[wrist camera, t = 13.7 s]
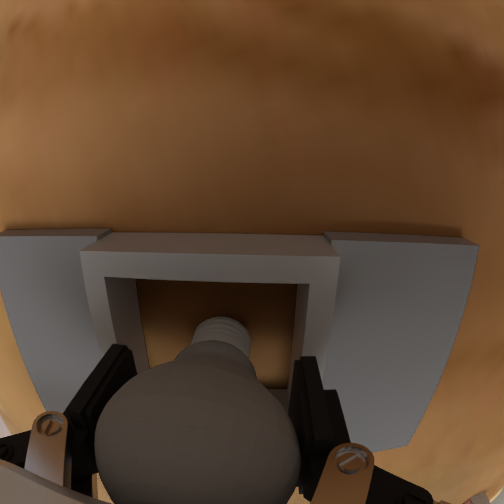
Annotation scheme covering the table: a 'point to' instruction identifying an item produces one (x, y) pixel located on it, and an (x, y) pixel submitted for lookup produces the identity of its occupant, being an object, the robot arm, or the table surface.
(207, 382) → the light bulb
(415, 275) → the plate with square opening
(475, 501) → the red and white carton
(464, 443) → the table surface
